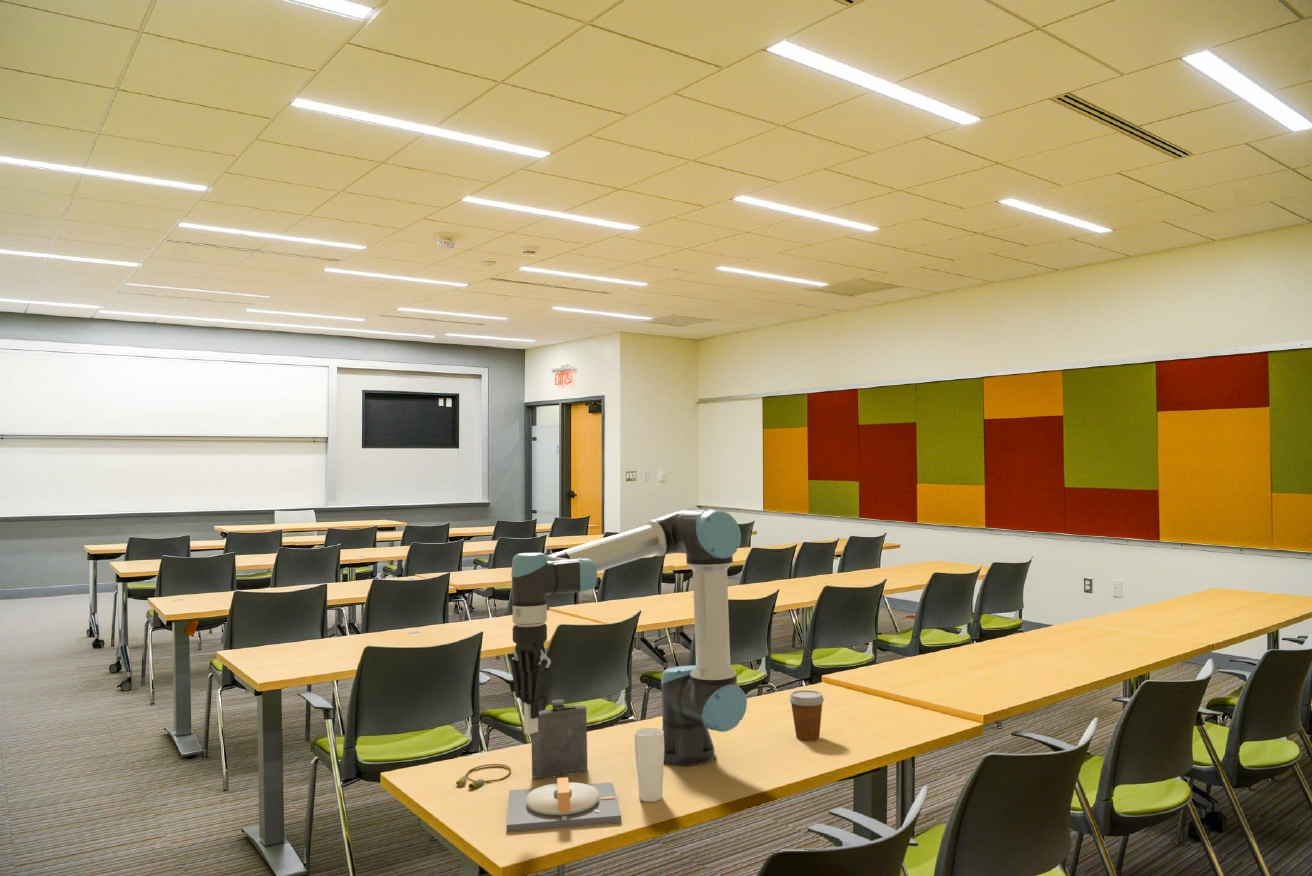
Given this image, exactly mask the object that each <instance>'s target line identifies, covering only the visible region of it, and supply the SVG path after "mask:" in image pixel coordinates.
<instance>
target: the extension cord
mask: <svg viewBox="0 0 1312 876" xmlns="http://www.w3.org/2000/svg"><path fill="white" fill-rule="evenodd" d="M482 768H484V769H489V768H501V769H502V768H503V769H505V770H508V771H509V772H508V773H507V774H506V775H505V776H503V777H500V778H498V779H497V778H496V779H487V780H484V779H482V778H478V779H475V780H474V779H471V778H470V777H469V776H468V774H470V773H472V772H473V771H479V770H483V769H482ZM478 769H479V770H478ZM469 772H470V773H469ZM511 774H512V768H511V767H510V766H509V765H507V764H503V763H489V764H483V765H478V766H476V767H472V768H470V769H469V770H468V771H467V772H466V773H465V775H462V776H461V777H460V778H458V780H456V782H455V785H456V786H457V787H458V786H463V787H465V786H466V784H467V780H469V779H470V780H469V781H471V783H469V784H468V789H469V790H472V791H474V789H478V788H480V787H481V786H482V785H483V784H484V783H486V784H493V783H492V782H499V781H503V780H505V779H507V778H508V777H509V776H511ZM507 776H508V777H507ZM506 777H507V778H506ZM467 778H468V779H467ZM504 778H505V779H504ZM498 780H499V781H498ZM490 781H491V782H490ZM470 788H472V789H470Z"/></svg>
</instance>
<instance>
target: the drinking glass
mask: <svg viewBox="0 0 1312 876" xmlns="http://www.w3.org/2000/svg"><path fill="white" fill-rule="evenodd" d="M634 752H635V763H636V773H637V782H638V783H637V784H638V797H639V799H640V800H641V801H642V802H646V803H655V802H658V801H660V800H662V798H663V784H664V783H663V782H664V764H665V763H664V731H663V730H662V728H658V727H643V728H639V729H636V730H635V731H634Z"/></svg>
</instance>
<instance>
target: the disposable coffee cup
mask: <svg viewBox="0 0 1312 876" xmlns="http://www.w3.org/2000/svg"><path fill="white" fill-rule="evenodd" d="M788 699H789V702H790V705H791V710H792V718H793V724H794V730H795V737H796V739H797V738H798V739H797V740H799V741H802V742H813V741H817V740H819V739H820V734H821V722H822V721H821V720H822V712H823V703H824V700H825V698H824V697H823V694H822V693H821V692H820V691H817V690H812V689H809V690H808V689H801V690H800V689H799V690H794V691H792V692H791V693H790V696H789V697H788Z"/></svg>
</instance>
